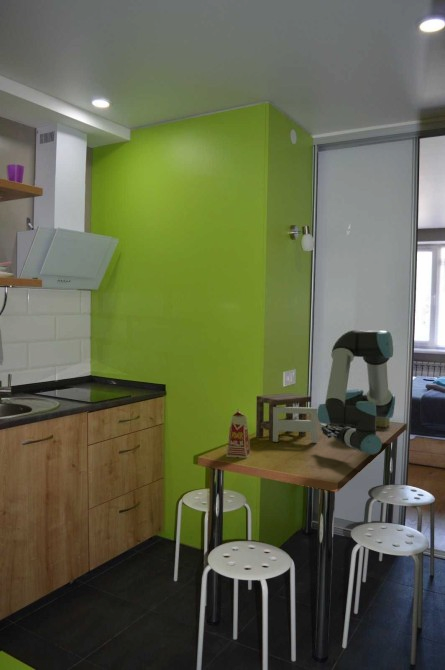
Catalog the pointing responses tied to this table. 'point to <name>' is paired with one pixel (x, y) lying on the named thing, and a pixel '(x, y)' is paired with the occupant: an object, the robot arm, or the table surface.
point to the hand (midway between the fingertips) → (321, 426)
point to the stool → (275, 400)
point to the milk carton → (238, 437)
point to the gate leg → (295, 422)
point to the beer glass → (296, 415)
